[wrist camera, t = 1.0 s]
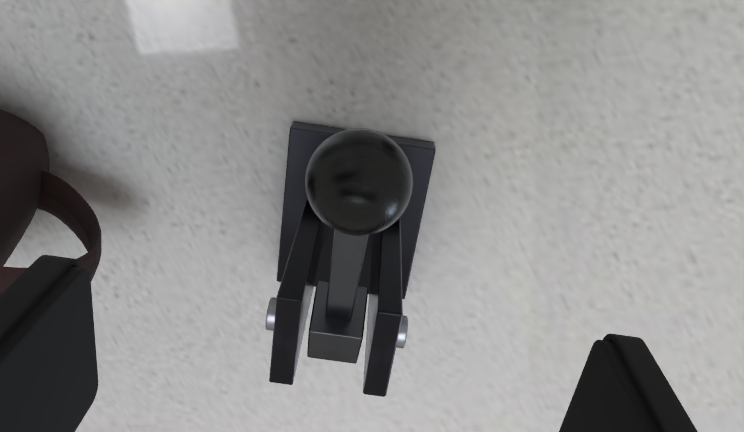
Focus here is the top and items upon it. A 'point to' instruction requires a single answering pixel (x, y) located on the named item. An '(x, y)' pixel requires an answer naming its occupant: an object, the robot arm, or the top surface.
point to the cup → (37, 196)
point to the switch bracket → (313, 260)
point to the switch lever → (351, 228)
